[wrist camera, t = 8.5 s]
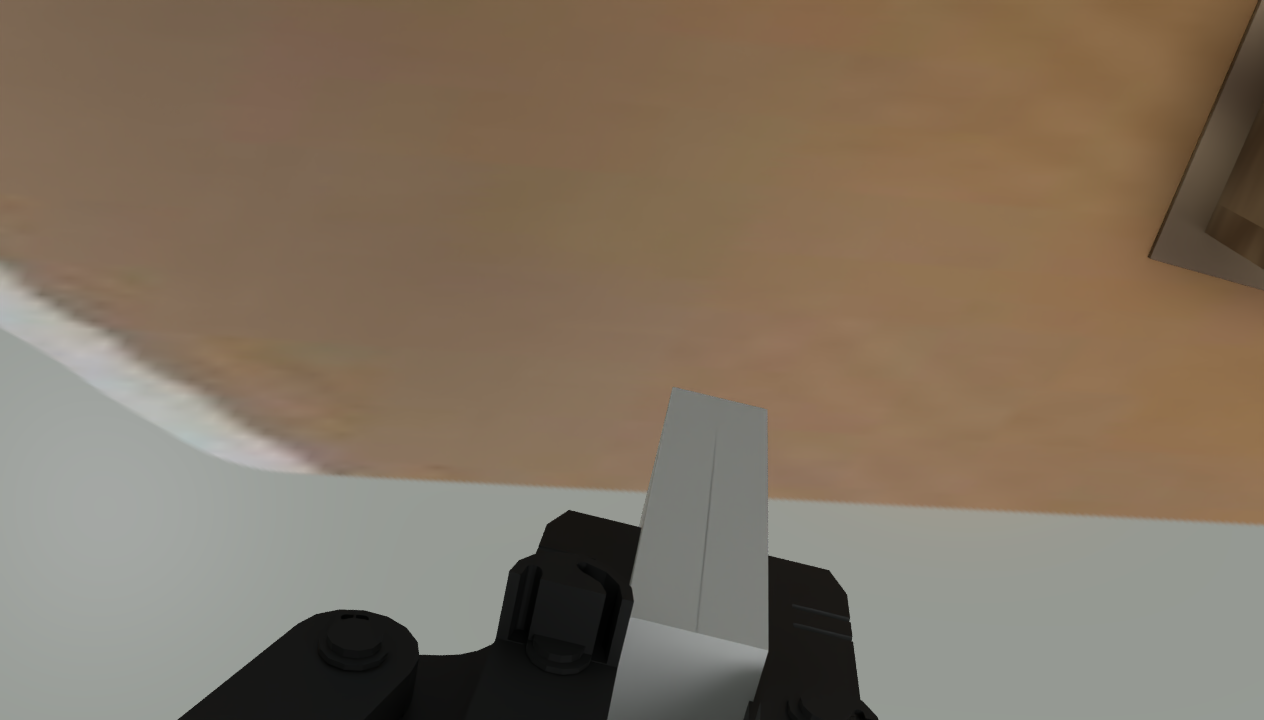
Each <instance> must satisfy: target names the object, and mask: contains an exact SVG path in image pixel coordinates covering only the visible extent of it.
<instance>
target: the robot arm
mask: <svg viewBox="0 0 1264 720" xmlns="http://www.w3.org/2000/svg"><path fill="white" fill-rule="evenodd" d="M849 620H850V614H849V607H848V599H847V594H846V592H845V591H844V590H843V588H842V587H841V586H840V585H839V583H838V582H837V580H836V579H835V578H834V576H833V575H832V574H831V572H830V571H829V570H825V569H821V568H818V567H813V566H809V565H805V564H801V563H797V562H793V561H789V560H784V559H780V558H776V557H772V556H768V433H767V409H763V408H759V407H755V406H751V405H747V404H743V403H738V402H734V401H730V400H726V399H722V398H717V397H713V396H709V395H705V394H701V393H697V392H692V391H688V390H684V389H680V388H676V387H673V388H672V392H671V397H670V401H669V405H668V409H667V413H666V417H665V421H664V425H663V430H662V434H661V438H660V442H659V446H658V450H657V454H656V458H655V463H654V467H653V471H652V475H651V479H650V483H649V487H648V491H647V496H646V500H645V504H644V508H643V512H642V516H641V521H640V524H639V527H637V526H632V525H628V524H624V523H620V522H616V521H612V520H608V519H604V518H599V517H595V516H591V515H587V514H583V513H579V512H575V511H571V510H568V511H567V512H566V513H564V514H562V515H561V516H559V517H558V518H556V519H554V520H553V521H551V522H550V523H548V524H547V526H546V528H545V531H544V533H543V536H542V539H541V542H540V544H539V548H538V549H537V552H536V554H534V555H531V556H529V557H526V558H524V559H521V560H519V561H518V562H517V563H516V565H515V566H514V567H513V568H512V569H511V570H510V571H509V576H508V581H507V586H506V591H505V596H504V601H503V606H502V611H501V616H500V621H499V626H498V631H497V636H496V639H495V642H494V643H493V644H492V645H490V646H487V647H485V648H483V649H481V650H478V651H474V652H470V653H466V654H461V655H443V656H442V655H440V656H439V655H419V650H418V642H417V641H416V639H415V638H414V637H413V636H412V634H411V633H410V632H409V630H408V629H407V628H406V627H404V626H403V625H401V624H399V623H397V622H396V621H394V620H392V619H391V618H389V617H387V616H383V615H379V614H376V613H372V612H368V611H364V610H335V611H330V612H325V613H320V614H316V615H314V616H312V617H310V618H308V619H306V620H304V621H302V622H301V623H298V624H297V625H296V626H294V627H293V628H292V629H291V630H289V631H288V632H287V633H286V634H284V635H283V636H282V637H281V638H279V639H278V640H277V641H276V642H274V643H273V644H272V645H271V646H269V647H268V648H267V649H266V650H264V651H263V652H262V653H261V654H259V655H258V656H257V657H256V658H255V659H253V660H252V661H251V662H249V663H248V664H247V665H246V666H244V667H243V668H242V669H241V670H239V671H238V672H237V673H235V674H234V675H233V676H232V677H231V678H229V679H228V680H227V681H225V682H224V683H223V684H222V685H220V686H219V687H218V688H217V689H216V690H214V691H213V692H212V693H210V694H209V695H208V696H207V697H205V699H203V700H202V701H200V702H199V703H198V704H197V705H195V706H194V707H193V708H192V709H191V710H189V711H188V712H187V713H185V714H184V715H183V716H182V717H180V718H179V719H178V720H878V718H877V716H876V715H875V714H874V713H873V712H872V711H871V710H870V709H869V708H868V706H867V705H866V704H865V703H864V702H863V701H861V700H860V694H859V687H858V686H859V685H858V677H857V670H856V662H855V654H854V646H853V642H852V630H851V623H850V622H849Z"/></svg>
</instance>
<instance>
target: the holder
mask: <svg viewBox="0 0 1264 720" xmlns="http://www.w3.org/2000/svg"><path fill="white" fill-rule="evenodd" d="M1148 257H1149V258H1150V259H1153V260H1157V261H1160V262H1164V263H1167V264H1171V265H1175V266H1178V267H1182V268H1185V269H1189V270H1193V271H1196V272H1200V273H1203V274H1207V275H1210V276H1214V277H1218V278H1221V279H1225V280H1228V281H1232V282H1236V283H1239V284H1243V285H1246V286H1250V287H1253V288H1257V289H1261V290H1264V0H1259V1H1258V4H1257V6H1256V8H1255V11H1254V13H1253V15H1252V18H1251V20H1250V22H1249V25H1248V27H1247V29H1246V31H1245V34H1244V36H1243V38H1242V41H1241V43H1240V45H1239V48H1238V50H1237V52H1236V55H1235V57H1234V59H1233V62H1232V64H1231V66H1230V69H1229V71H1228V73H1227V75H1226V78H1225V80H1224V82H1223V85H1222V87H1221V89H1220V92H1219V94H1218V96H1217V99H1216V101H1215V103H1214V106H1213V108H1212V110H1211V113H1210V115H1209V117H1208V120H1207V122H1206V124H1205V126H1204V129H1203V131H1202V133H1201V136H1200V138H1199V140H1198V143H1197V145H1196V147H1195V150H1194V152H1193V154H1192V157H1191V159H1190V161H1189V164H1188V166H1187V168H1186V170H1185V173H1184V175H1183V177H1182V180H1181V182H1180V184H1179V187H1178V189H1177V191H1176V194H1175V196H1174V198H1173V201H1172V203H1171V205H1170V208H1169V210H1168V212H1167V214H1166V217H1165V219H1164V221H1163V224H1162V226H1161V228H1160V231H1159V233H1158V235H1157V238H1156V240H1155V242H1154V245H1153V247H1152V249H1151V252H1150V254H1149V256H1148Z"/></svg>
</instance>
